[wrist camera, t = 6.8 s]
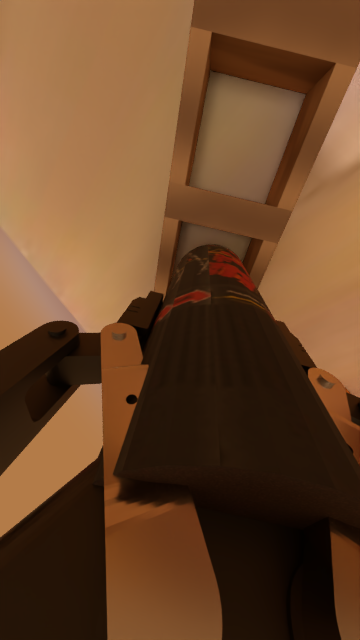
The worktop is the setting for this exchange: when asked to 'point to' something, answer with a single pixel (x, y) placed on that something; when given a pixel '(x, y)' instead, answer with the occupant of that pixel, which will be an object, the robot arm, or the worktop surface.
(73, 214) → the worktop surface
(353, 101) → the worktop surface
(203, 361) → the deodorant
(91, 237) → the worktop surface
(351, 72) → the wooden divided tray
